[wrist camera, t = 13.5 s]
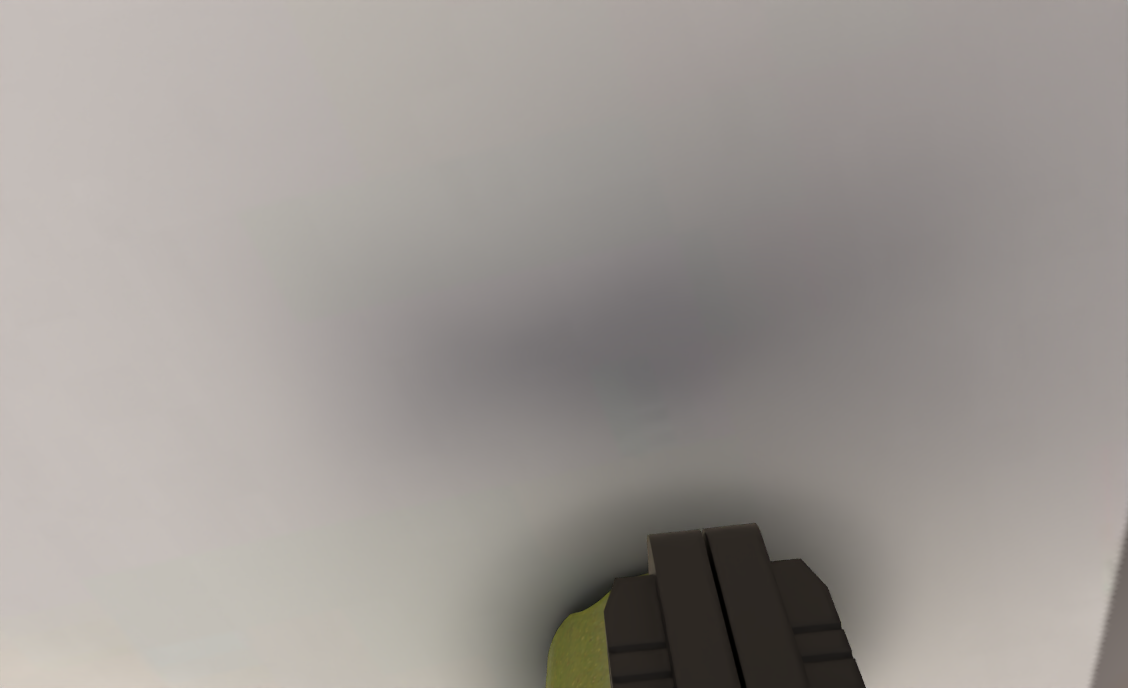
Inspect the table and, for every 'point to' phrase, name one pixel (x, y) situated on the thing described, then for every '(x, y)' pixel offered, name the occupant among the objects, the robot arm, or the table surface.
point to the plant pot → (580, 651)
